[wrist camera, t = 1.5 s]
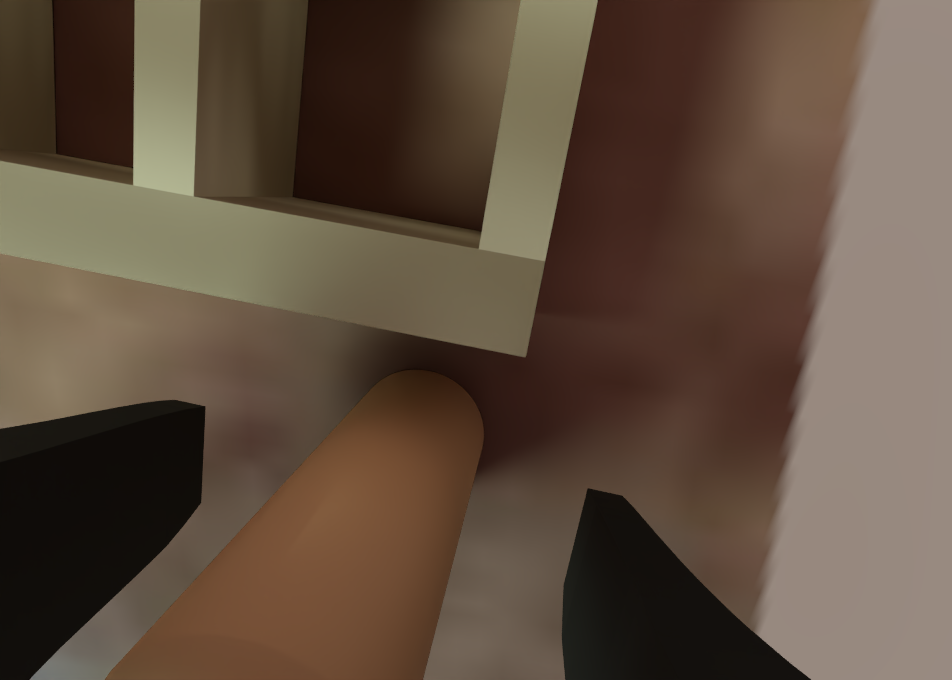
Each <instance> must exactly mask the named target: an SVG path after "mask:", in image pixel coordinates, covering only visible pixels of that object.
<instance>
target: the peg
mask: <svg viewBox="0 0 952 680" xmlns="http://www.w3.org/2000/svg"><path fill="white" fill-rule="evenodd" d="M483 441H484V427H483V421H482V418H481V414H480V412H479V410H478V407H477V405H476V404H475V402H474V401H473V399H472V398H471V396H470V395H469V394H468V393H467V392H466V391H465V390H464V389H463V388H462V387H461V386H460V385H459V384H457V383H456V382H455V381H453V380H451V379H450V378H448V377H446V376H444V375H441V374H439V373H435V372H432V371H427V370H405V371H400V372H396V373H394V374H391V375H389V376H387V377H385V378H383V379H382V380H380V381H379V382H378V383H377V384H375V385H374V386H373V387H372V388H371V389H370V390H369V392H368V393H367V394H366V395H365V396H364V397H363V398H362V399H361V400H360V401H359V402H358V403H357V405H356V406H355V407H354V408H353V409H352V410H351V411H350V412H349V413H348V414H347V415H346V417H345V418H344V419H343V420H342V421H341V422H340V423H339V424H338V425H337V426H336V427H335V428H334V430H333V431H332V432H331V433H330V434H329V435H328V436H327V437H326V438H325V439H324V440H323V441H322V443H321V444H320V445H319V446H318V447H317V448H316V449H315V450H314V451H313V452H312V453H311V454H310V456H309V457H308V458H307V459H306V460H305V461H304V462H303V463H302V464H301V465H300V466H299V468H298V469H297V470H296V471H295V472H294V473H293V474H292V475H291V476H290V477H289V478H288V479H287V481H286V482H285V483H284V484H283V485H282V486H281V487H280V488H279V489H278V490H277V491H276V492H275V494H274V495H273V496H272V497H271V498H270V499H269V500H268V501H267V502H266V503H265V504H264V506H263V507H262V508H261V509H260V510H259V511H258V512H257V513H256V514H255V515H254V516H253V517H252V519H251V520H250V521H249V522H248V523H247V524H246V525H245V526H244V527H243V528H242V529H241V530H240V532H239V533H238V534H237V535H236V536H235V537H234V538H233V539H232V540H231V541H230V542H229V544H228V545H227V546H226V547H225V548H224V549H223V550H222V551H221V552H220V553H219V554H218V555H217V557H216V558H215V559H214V560H213V561H212V562H211V563H210V564H209V565H208V566H207V567H206V568H205V570H204V571H203V572H202V573H201V574H200V575H199V576H198V577H197V578H196V579H195V580H194V581H193V583H192V584H191V585H190V586H189V587H188V588H187V589H186V590H185V591H184V592H183V593H182V595H181V596H180V597H179V598H178V599H177V600H176V601H175V602H174V603H173V604H172V605H171V606H170V608H169V609H168V610H167V611H166V612H165V613H164V614H163V615H162V616H161V617H160V618H159V619H158V621H157V622H156V623H155V624H154V625H153V626H152V627H151V628H150V629H149V630H148V631H147V633H146V634H145V635H144V636H143V637H142V638H141V639H140V640H139V641H138V642H137V643H136V644H135V646H134V647H133V648H132V649H131V650H130V651H129V652H128V653H127V654H126V655H125V656H124V657H123V659H122V660H121V661H120V662H119V663H118V664H117V665H116V666H115V667H114V668H113V669H112V670H111V672H110V673H109V674H108V676H107V677H106V679H105V680H423V677H424V673H425V669H426V665H427V661H428V658H429V654H430V650H431V646H432V642H433V638H434V634H435V630H436V626H437V622H438V619H439V615H440V611H441V607H442V603H443V599H444V595H445V591H446V587H447V583H448V580H449V576H450V572H451V568H452V564H453V560H454V556H455V552H456V548H457V544H458V541H459V537H460V533H461V529H462V525H463V521H464V517H465V513H466V509H467V505H468V502H469V498H470V494H471V490H472V486H473V482H474V478H475V474H476V470H477V466H478V463H479V459H480V455H481V451H482V447H483Z"/></svg>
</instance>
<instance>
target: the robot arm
mask: <svg viewBox="0 0 952 680" xmlns="http://www.w3.org/2000/svg"><path fill="white" fill-rule="evenodd" d="M204 427H205V406H201V405H196V404H192V403H187V402H182V401H178V400H166V401H155V402H147V403H141V404H134V405H129V406H123V407H117V408H112V409H107V410H101V411H96V412H91V413H86V414H81V415H75V416H70V417H65V418H60V419H55V420H49V421H44V422H38V423H32V424H26V425H21V426H15V427H9V428H3V429H0V680H30V678H31V677H32V676H33V675H34V674H35V673H36V672H37V671H38V670H39V669H40V668H41V667H42V666H43V665H44V664H45V663H46V662H47V661H48V660H49V659H50V658H51V657H52V656H53V655H54V654H55V653H56V652H57V651H58V650H59V648H60V647H62V646H63V645H64V644H65V643H66V642H67V641H68V640H69V639H70V638H71V637H72V636H73V635H74V634H75V633H76V632H77V631H78V630H79V629H81V628H82V627H83V626H84V625H85V624H86V623H87V622H88V621H89V620H90V619H91V618H92V617H93V616H94V615H95V614H96V613H97V612H98V611H100V610H101V609H102V608H103V607H104V606H105V605H106V604H107V603H108V602H109V601H110V600H111V599H112V598H113V597H114V596H115V595H116V594H118V593H119V592H120V591H121V590H122V589H123V588H124V587H125V586H126V585H127V584H128V583H129V582H130V581H131V580H132V579H133V578H134V577H135V576H136V575H137V574H139V573H140V572H141V571H142V570H143V569H144V568H145V567H146V566H147V565H148V564H149V563H150V562H151V561H152V560H153V559H154V558H155V557H156V556H157V555H158V554H159V553H160V552H161V551H162V550H163V549H164V548H165V547H166V546H167V545H168V544H169V543H170V541H171V540H172V539H173V538H174V537H175V535H176V534H177V533H178V532H179V531H180V529H181V528H182V527H183V526H184V524H185V523H186V522H187V520H188V519H189V518H190V517H191V515H192V514H193V513H194V511H195V510H196V509H197V507H198V506H199V505H200V503H201V493H202V471H203V449H204ZM562 646H563V658H564V669H565V680H811V679H810V678H808V677H807V676H806V675H805V674H803V673H802V672H801V671H799V670H798V669H797V668H796V667H794V666H793V665H792V664H790V663H789V662H788V661H787V660H786V659H784V658H783V657H782V656H781V655H780V654H779V653H777V652H776V651H775V650H774V649H773V648H772V647H770V646H769V645H768V644H767V643H766V642H764V641H763V640H762V639H761V638H760V637H759V636H757V635H756V634H755V633H754V632H753V631H751V630H750V629H749V628H748V627H747V626H746V625H745V624H744V623H742V622H741V621H740V620H739V619H738V618H737V617H736V616H735V615H734V614H733V613H732V612H731V611H729V610H728V609H727V608H726V607H725V606H724V605H723V604H722V603H721V602H720V601H719V600H718V599H717V598H716V597H715V596H714V595H713V594H712V593H711V592H710V591H709V590H708V589H707V588H706V587H705V586H704V585H703V584H702V583H701V582H700V581H699V580H698V579H697V578H696V577H695V576H694V575H693V574H692V573H691V572H690V571H689V569H688V568H687V567H686V566H685V565H684V564H683V563H682V562H681V561H680V560H679V559H678V558H677V556H676V555H675V554H674V553H673V552H672V551H671V550H670V549H669V548H668V547H667V545H666V544H665V543H664V542H663V541H662V540H661V539H660V537H659V536H658V535H657V534H656V533H655V532H654V531H653V529H652V528H651V527H650V526H649V525H648V524H647V522H646V521H645V520H644V519H643V518H642V517H641V515H640V514H639V513H638V512H637V511H636V510H635V509H634V507H633V506H632V505H631V504H630V503H629V502H628V501H627V500H626V499H625V498H624V497H623V496H621V495H616V494H612V493H607V492H602V491H598V490H593V489H588V490H587V494H586V498H585V502H584V506H583V510H582V514H581V518H580V522H579V526H578V530H577V534H576V538H575V542H574V546H573V550H572V554H571V558H570V562H569V566H568V570H567V574H566V578H565V582H564V590H563V617H562Z"/></svg>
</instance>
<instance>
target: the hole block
mask: <svg viewBox="0 0 952 680" xmlns="http://www.w3.org/2000/svg"><path fill="white" fill-rule="evenodd" d="M597 2H598V0H521V2H520V8H519V14H518V20H517V26H516V32H515V38H514V44H513V50H512V55H511V61H510V67H509V73H508V79H507V85H506V91H505V97H504V103H503V109H502V114H501V120H500V126H499V132H498V138H497V144H496V150H495V156H494V162H493V167H492V173H491V179H490V185H489V191H488V197H487V203H486V209H485V215H484V220H483V226H482V232H481V231H476V230H470V229H465V228H459V227H454V226H448V225H443V224H437V223H432V222H426V221H421V220H415V219H410V218H404V217H399V216H393V215H388V214H382V213H377V212H371V211H366V210H360V209H355V208H350V207H344V206H339V205H333V204H328V203H322V202H317V201H311V200H306V199H300V198H295V197H293V186H294V173H295V161H296V148H297V136H298V124H299V111H300V99H301V86H302V74H303V62H304V49H305V37H306V24H307V12H308V0H135V27H134V155H133V168H130V167H124V166H119V165H113V164H108V163H102V162H97V161H91V160H86V159H80V158H75V157H69V156H64V155H58V154H56V125H55V87H54V50H53V13H52V0H0V253H1V254H6V255H11V256H16V257H21V258H26V259H31V260H36V261H41V262H46V263H51V264H57V265H62V266H67V267H72V268H77V269H82V270H87V271H92V272H97V273H102V274H107V275H112V276H117V277H122V278H127V279H132V280H137V281H142V282H147V283H152V284H157V285H162V286H168V287H173V288H178V289H183V290H188V291H193V292H198V293H203V294H208V295H213V296H218V297H223V298H228V299H233V300H238V301H243V302H248V303H253V304H258V305H263V306H268V307H274V308H279V309H284V310H289V311H294V312H299V313H304V314H309V315H314V316H319V317H324V318H329V319H334V320H339V321H344V322H349V323H354V324H359V325H364V326H369V327H374V328H379V329H385V330H390V331H395V332H400V333H405V334H410V335H415V336H420V337H425V338H430V339H435V340H440V341H445V342H450V343H455V344H460V345H465V346H470V347H475V348H480V349H485V350H491V351H496V352H501V353H506V354H511V355H516V356H521V357H526V354H527V349H528V344H529V339H530V334H531V329H532V324H533V319H534V314H535V309H536V304H537V299H538V294H539V289H540V284H541V280H542V275H543V270H544V265H545V260H546V255H547V250H548V245H549V240H550V235H551V230H552V225H553V220H554V215H555V210H556V205H557V200H558V195H559V190H560V185H561V181H562V176H563V171H564V166H565V161H566V156H567V151H568V146H569V141H570V136H571V131H572V126H573V121H574V116H575V111H576V106H577V101H578V96H579V91H580V86H581V82H582V77H583V72H584V67H585V62H586V57H587V52H588V47H589V42H590V37H591V32H592V27H593V22H594V17H595V12H596V7H597Z"/></svg>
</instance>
